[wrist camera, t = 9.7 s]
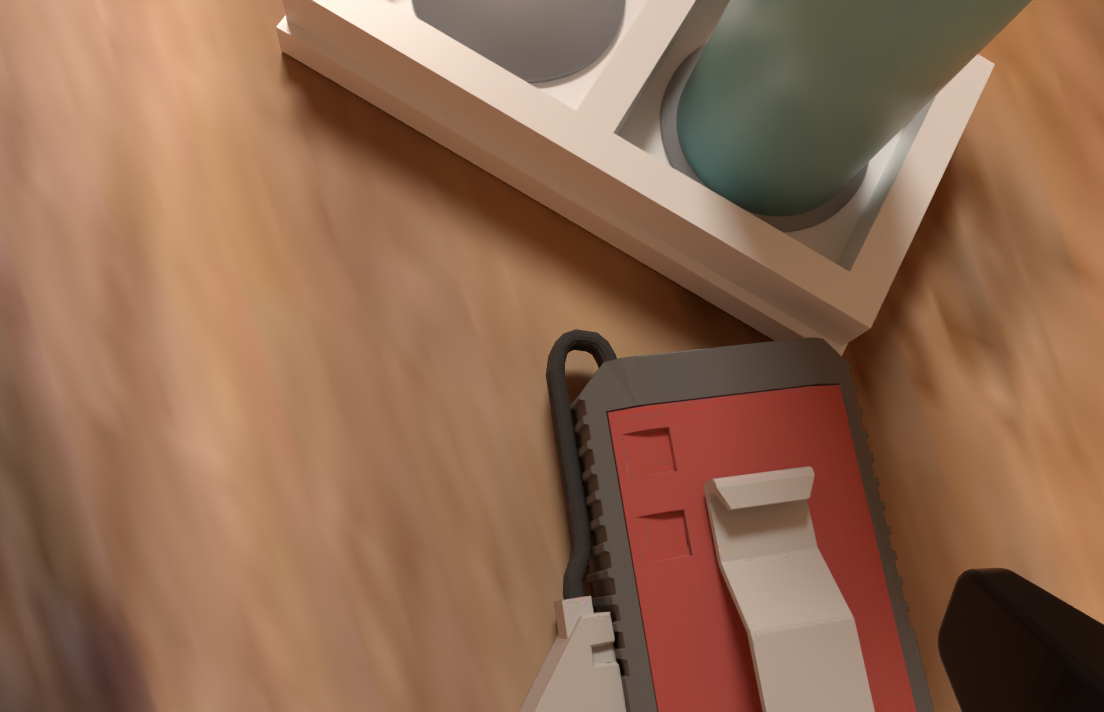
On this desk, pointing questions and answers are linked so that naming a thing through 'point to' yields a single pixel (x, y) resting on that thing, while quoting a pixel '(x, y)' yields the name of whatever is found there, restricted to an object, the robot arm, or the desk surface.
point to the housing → (633, 142)
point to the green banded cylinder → (819, 90)
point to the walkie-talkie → (723, 539)
